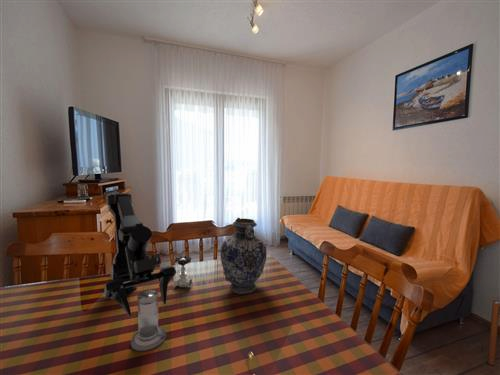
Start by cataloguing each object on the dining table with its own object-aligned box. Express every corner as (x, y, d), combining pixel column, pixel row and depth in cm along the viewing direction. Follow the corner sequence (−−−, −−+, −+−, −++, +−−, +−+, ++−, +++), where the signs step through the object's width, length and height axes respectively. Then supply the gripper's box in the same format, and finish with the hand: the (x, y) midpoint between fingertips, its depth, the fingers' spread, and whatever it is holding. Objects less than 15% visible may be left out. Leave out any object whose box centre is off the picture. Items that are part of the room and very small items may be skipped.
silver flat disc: (123, 344, 62) (123, 340, 62) (150, 324, 71) (150, 321, 70) (146, 356, 59) (146, 351, 58) (172, 334, 67) (172, 330, 67)
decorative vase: (215, 278, 102) (217, 215, 100) (255, 274, 107) (257, 214, 106) (225, 305, 81) (228, 227, 79) (274, 298, 87) (277, 225, 85)
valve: (186, 292, 90) (186, 262, 89) (171, 290, 91) (171, 260, 91) (194, 284, 97) (194, 256, 96) (179, 282, 98) (179, 254, 97)
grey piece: (135, 334, 64) (134, 295, 64) (153, 326, 68) (153, 288, 67) (142, 344, 61) (141, 302, 60) (161, 334, 65) (161, 295, 64)
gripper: (104, 252, 61) (112, 312, 53) (173, 240, 73) (188, 288, 65) (101, 271, 68) (108, 326, 60) (165, 257, 80) (177, 302, 72)
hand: (148, 309), depth 64 cm, fingers open, 9 cm apart
